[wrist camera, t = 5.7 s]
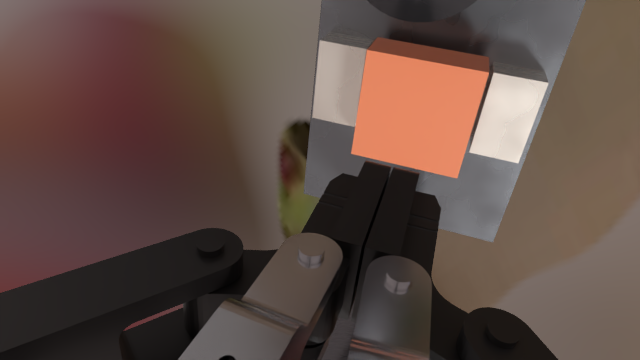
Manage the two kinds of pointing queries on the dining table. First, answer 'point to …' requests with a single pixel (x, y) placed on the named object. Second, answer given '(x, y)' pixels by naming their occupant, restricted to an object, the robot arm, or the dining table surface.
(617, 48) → the dining table surface
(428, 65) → the button
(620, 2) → the dining table surface
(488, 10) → the twin post stand
